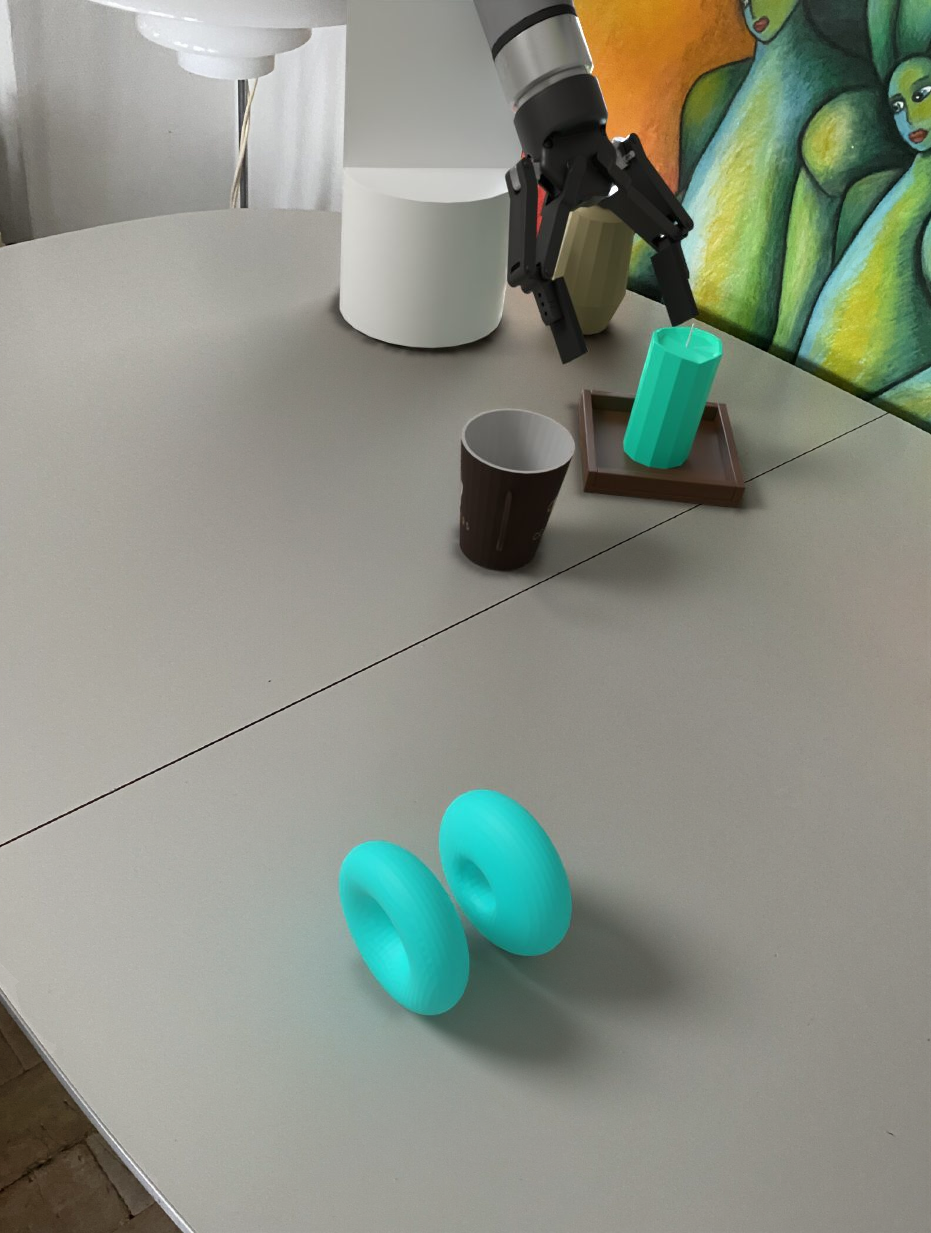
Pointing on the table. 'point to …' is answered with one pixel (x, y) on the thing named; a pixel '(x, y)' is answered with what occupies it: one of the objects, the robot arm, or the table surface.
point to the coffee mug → (509, 484)
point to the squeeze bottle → (595, 263)
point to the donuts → (482, 886)
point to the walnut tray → (614, 472)
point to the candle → (672, 395)
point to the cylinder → (424, 174)
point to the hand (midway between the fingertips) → (632, 339)
